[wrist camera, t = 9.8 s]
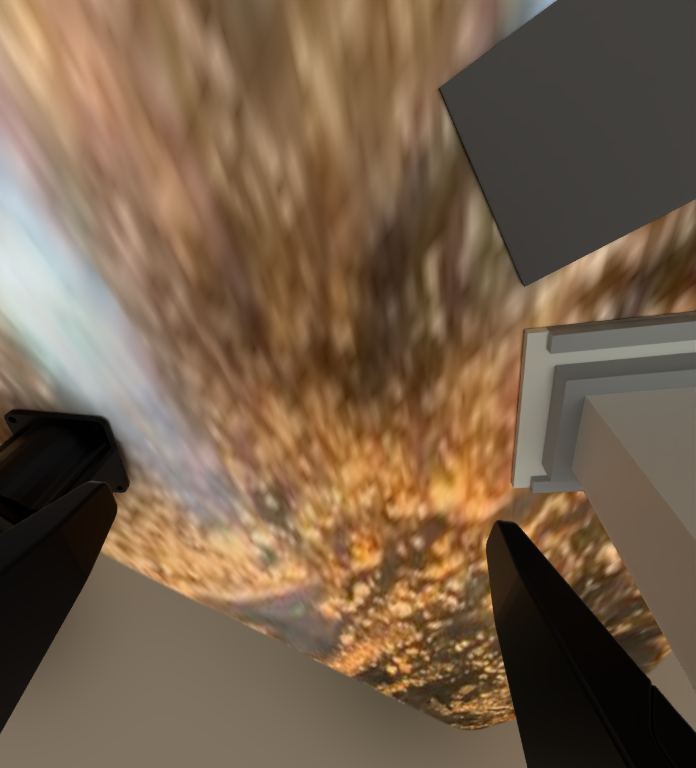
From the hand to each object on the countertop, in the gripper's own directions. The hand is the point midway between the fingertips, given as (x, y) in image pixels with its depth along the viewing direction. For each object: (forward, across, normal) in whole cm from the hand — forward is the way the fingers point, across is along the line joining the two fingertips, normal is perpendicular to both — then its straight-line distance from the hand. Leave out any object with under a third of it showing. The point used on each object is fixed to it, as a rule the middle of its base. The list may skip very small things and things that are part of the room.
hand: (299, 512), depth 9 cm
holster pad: (+13, -10, -8) cm, 18 cm away
